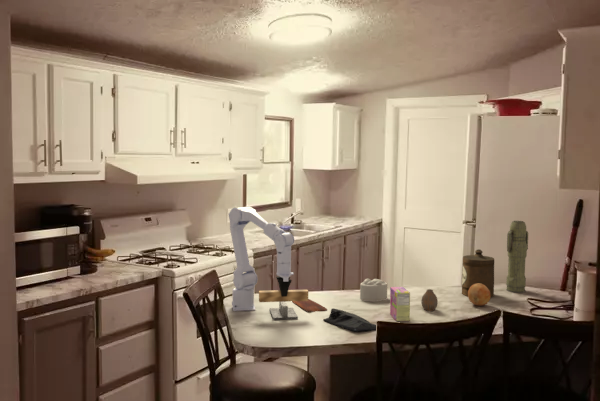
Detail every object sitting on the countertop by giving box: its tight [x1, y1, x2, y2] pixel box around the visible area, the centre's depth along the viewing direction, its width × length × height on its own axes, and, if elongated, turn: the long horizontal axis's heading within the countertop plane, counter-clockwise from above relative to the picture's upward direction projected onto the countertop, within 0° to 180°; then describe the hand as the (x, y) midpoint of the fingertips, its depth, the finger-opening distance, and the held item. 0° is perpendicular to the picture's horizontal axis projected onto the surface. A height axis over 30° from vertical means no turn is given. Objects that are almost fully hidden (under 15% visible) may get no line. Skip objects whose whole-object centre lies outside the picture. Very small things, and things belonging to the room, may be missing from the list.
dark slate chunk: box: [323, 308, 377, 333], centre depth 219 cm, size 15×22×5 cm
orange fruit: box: [467, 283, 491, 307], centre depth 248 cm, size 10×10×10 cm
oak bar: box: [258, 289, 309, 303], centre depth 226 cm, size 20×3×4 cm, turn 98°
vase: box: [421, 288, 439, 312], centre depth 241 cm, size 7×7×9 cm
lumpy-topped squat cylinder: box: [359, 278, 388, 302], centre depth 260 cm, size 10×13×9 cm
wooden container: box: [461, 249, 495, 298], centre depth 268 cm, size 15×15×22 cm
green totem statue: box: [505, 220, 529, 294], centre depth 276 cm, size 9×12×35 cm
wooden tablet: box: [292, 298, 328, 313], centre depth 248 cm, size 27×10×2 cm, turn 22°
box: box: [389, 286, 411, 322], centre depth 228 cm, size 10×6×12 cm, turn 5°
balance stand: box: [269, 301, 299, 321], centre depth 231 cm, size 10×14×5 cm
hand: (283, 295), depth 226 cm, fingers closed on oak bar, 3 cm apart
